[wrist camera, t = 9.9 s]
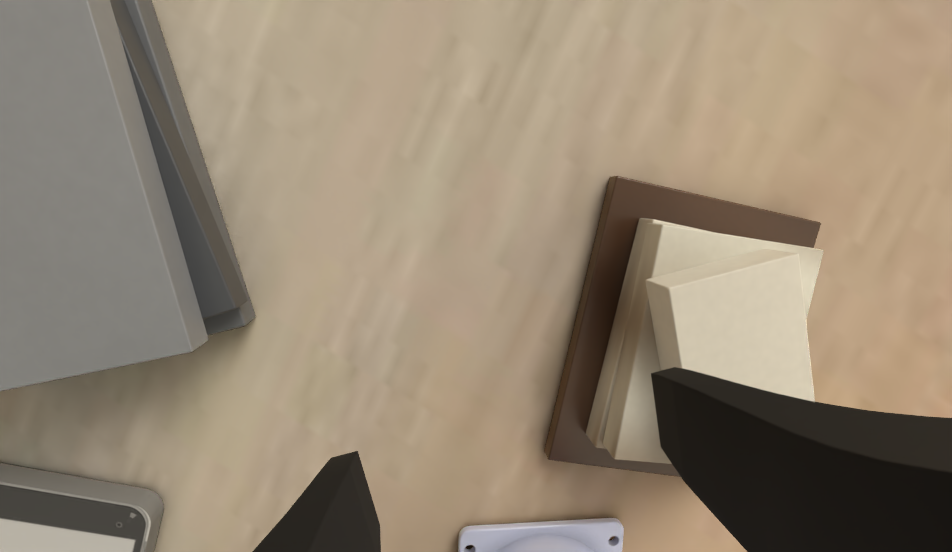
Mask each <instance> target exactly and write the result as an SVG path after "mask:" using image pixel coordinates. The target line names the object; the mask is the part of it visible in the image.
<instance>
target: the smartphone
mask: <svg viewBox="0 0 952 552" xmlns="http://www.w3.org/2000/svg"><path fill="white" fill-rule="evenodd" d="M163 510H164V504H163V501H162V499H161V497H160V496H159V495H158V494H157V493H155V492H154V491H152V490H150V489H146V488H140V487H134V486H129V485H123V484H117V483H112V482H106V481H100V480H95V479H89V478H83V477H78V476H72V475H66V474H60V473H55V472H49V471H43V470H38V469H32V468H26V467H21V466H15V465H9V464H4V463H0V552H154V550H155V546H156V541H157V537H158V532H159V528H160V523H161V519H162V515H163Z"/></svg>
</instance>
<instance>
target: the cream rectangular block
mask: <svg viewBox="0 0 952 552" xmlns="http://www.w3.org/2000/svg"><path fill="white" fill-rule="evenodd" d="M645 282H646V287H647V293H648V299H649V305H650V311H651V317H652V323H653V328H654V334H655V340H656V346H657V352H658V358H659V364H660V369H661V371H662V370H665V369H669V368H673V367H677V368H683V369H687V370H692V371H696V372H699V373H703V374H707V375H711V376H714V377H718V378H721V379H725V380H728V381H732V382H736V383H739V384H743V385H746V386H750V387H754V388H758V389H761V390H765V391H769V392H773V393H777V394H782V395H786V396H791V397H795V398H799V399H804V400H809V401H814V402H815V399H814V390H813V380H812V371H811V362H810V353H809V344H808V334H807V325H806V316H805V307H804V298H803V288H802V279H801V270H800V261H799V254H797V253H790V252H784V251H777V250H770V249H760V250H756V251H752V252H749V253H745V254H741V255H737V256H733V257H730V258H726V259H722V260H718V261H714V262H711V263H707V264H703V265H699V266H695V267H692V268H688V269H684V270H680V271H676V272H673V273H669V274H665V275H661V276H657V277H654V278H650V279H647V280H646V281H645Z"/></svg>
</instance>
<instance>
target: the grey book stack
mask: <svg viewBox="0 0 952 552" xmlns="http://www.w3.org/2000/svg"><path fill="white" fill-rule="evenodd" d="M254 318H255V313H254V310H253V307H252V304H251V301H250V298H249V295H248V292H247V289H246V286H245V282H244V279H243V276H242V273H241V270H240V267H239V264H238V261H237V258H236V255H235V252H234V249H233V246H232V243H231V240H230V237H229V234H228V231H227V228H226V225H225V222H224V219H223V216H222V213H221V210H220V207H219V204H218V201H217V198H216V195H215V192H214V189H213V186H212V183H211V180H210V176H209V173H208V170H207V167H206V164H205V161H204V158H203V155H202V152H201V149H200V146H199V143H198V140H197V137H196V134H195V131H194V128H193V125H192V122H191V119H190V116H189V113H188V110H187V107H186V104H185V101H184V98H183V95H182V92H181V89H180V86H179V83H178V80H177V77H176V74H175V71H174V67H173V64H172V61H171V58H170V55H169V52H168V49H167V46H166V43H165V40H164V37H163V34H162V31H161V28H160V25H159V22H158V19H157V16H156V13H155V10H154V7H153V4H152V1H151V0H0V391H5V390H10V389H15V388H19V387H24V386H29V385H34V384H39V383H44V382H49V381H54V380H59V379H64V378H68V377H73V376H78V375H83V374H88V373H93V372H98V371H103V370H108V369H113V368H117V367H122V366H127V365H132V364H137V363H142V362H147V361H152V360H157V359H162V358H166V357H171V356H176V355H181V354H186V353H191V352H193V351H194V350H196V349H197V348H199V347H200V346H201V345H203V344H204V343H205V342H207V341H208V335H212V334H216V333H220V332H224V331H228V330H231V329H235V328H239V327H243V326H245V325H247V324H248V323H249V322H250V321H252V320H253V319H254Z"/></svg>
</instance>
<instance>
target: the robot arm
mask: <svg viewBox="0 0 952 552" xmlns="http://www.w3.org/2000/svg"><path fill="white" fill-rule="evenodd" d="M651 378H652V386H653V393H654V401H655V408H656V415H657V423H658V430H659V438H660V445H661V448H662V450H663V451H664V453H665V454H666V456H667V457H668V459H669V460H670V462H671V463H672V465H673V466H674V468H675V469H676V470H677V472H678V473H679V475H680V476H681V477H682V479H683V480H684V482H685V483H686V484H687V485H688V486H689V487H690V488H691V490H692V491H693V492H694V493H695V494H696V495H697V496H698V497H699V499H700V500H701V501H702V502H703V503H704V504H705V505H706V506H707V508H708V509H709V510H710V511H711V512H712V513H713V514H714V515H715V516H716V517H717V519H718V520H719V521H720V522H721V523H722V524H723V525H724V526H725V527H726V528H727V530H728V531H729V532H730V533H731V534H732V535H733V536H734V537H735V538H736V539H737V541H738V542H739V543H740V544H741V545H742V546H743V547H744V548H745V549H746V550H747V552H952V418H940V417H925V416H915V415H904V414H894V413H884V412H876V411H868V410H861V409H855V408H848V407H842V406H836V405H830V404H824V403H819V402H814V401H809V400H804V399H799V398H795V397H791V396H786V395H782V394H777V393H773V392H769V391H765V390H761V389H758V388H754V387H750V386H746V385H743V384H739V383H736V382H732V381H728V380H725V379H721V378H718V377H714V376H711V375H707V374H703V373H699V372H696V371H692V370H687V369H683V368H677V367H673V368H669V369H665V370H662V371H658V372H654V373H651ZM623 535H624V527H623V525H622V524H621V522H620V521H619V520H618V519H617V518H597V519H579V520H561V521H544V522H526V523H508V524H491V525H473V526H466V527H464V528H463V529H462V530H461V531H460V532H459V540H458V552H622V547H623ZM613 536H615V538H614V539H613V540H609V539H610V538H611V537H613ZM468 545H473V546H474V547H472V548H471V549H465V547H466V546H468ZM253 552H381V545H380V524H379V521H378V517H377V514H376V511H375V507H374V504H373V501H372V497H371V494H370V491H369V487H368V484H367V481H366V477H365V474H364V471H363V467H362V464H361V461H360V457H359V454H358V451H355V452H352V453H348V454H344V455H340V456H337V457H333V458H331V459H330V460H329V461H328V462H327V463H326V465H325V466H324V467H323V468H322V469H321V471H320V472H319V473H318V474H317V476H316V477H315V478H314V480H313V481H312V482H311V483H310V485H309V486H308V487H307V488H306V490H305V491H304V492H303V493H302V495H301V496H300V497H299V498H298V500H297V501H296V502H295V503H294V505H293V506H292V507H291V508H290V510H289V511H288V512H287V513H286V514H285V516H284V517H283V518H282V519H281V520H280V521H279V522H278V524H277V525H276V526H275V527H274V528H273V529H272V530H271V531H270V533H269V534H268V535H267V536H266V537H265V538H264V539H263V541H262V542H261V543H260V544H259V545H258V546H257V547H256V548H255V550H254V551H253Z"/></svg>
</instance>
